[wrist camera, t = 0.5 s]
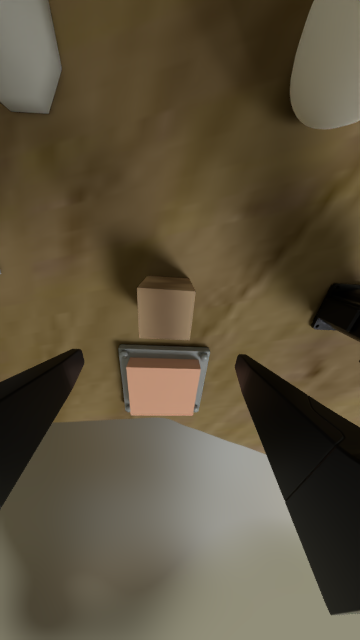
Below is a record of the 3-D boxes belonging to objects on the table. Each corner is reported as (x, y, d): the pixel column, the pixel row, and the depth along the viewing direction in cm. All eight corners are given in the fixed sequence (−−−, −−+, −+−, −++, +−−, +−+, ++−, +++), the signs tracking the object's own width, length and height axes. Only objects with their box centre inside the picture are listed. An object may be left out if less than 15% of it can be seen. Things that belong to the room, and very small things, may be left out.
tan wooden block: (188, 278, 19) (195, 291, 13) (185, 315, 21) (189, 340, 15) (147, 275, 18) (136, 287, 13) (148, 313, 20) (139, 338, 15)
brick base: (208, 347, 23) (213, 360, 20) (197, 404, 29) (200, 421, 26) (120, 344, 22) (113, 357, 20) (126, 404, 28) (122, 421, 25)
